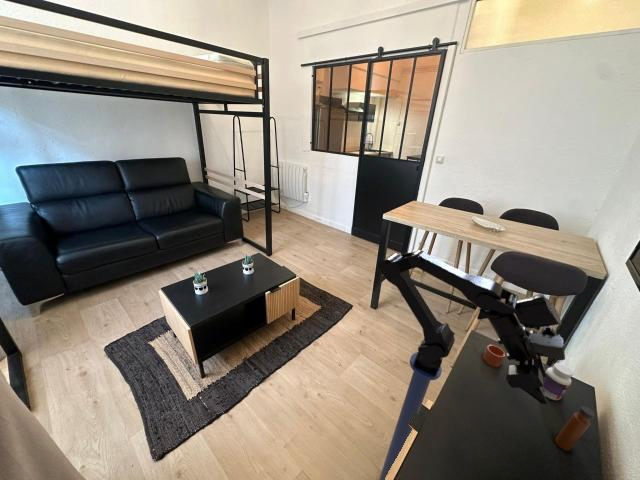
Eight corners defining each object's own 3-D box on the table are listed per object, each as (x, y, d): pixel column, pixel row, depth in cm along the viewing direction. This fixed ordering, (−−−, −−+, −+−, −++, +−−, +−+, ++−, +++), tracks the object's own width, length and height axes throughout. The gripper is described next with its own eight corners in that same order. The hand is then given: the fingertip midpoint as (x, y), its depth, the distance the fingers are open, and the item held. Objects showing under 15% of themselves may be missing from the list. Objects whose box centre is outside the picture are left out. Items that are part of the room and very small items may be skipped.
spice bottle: (556, 446, 61) (582, 412, 56) (553, 435, 63) (578, 402, 58) (571, 453, 60) (599, 420, 55) (568, 442, 62) (594, 409, 57)
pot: (482, 362, 83) (487, 352, 81) (482, 352, 87) (487, 342, 85) (500, 369, 81) (505, 359, 79) (499, 358, 85) (504, 349, 83)
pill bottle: (561, 404, 71) (577, 381, 67) (537, 393, 74) (552, 369, 70) (559, 391, 75) (574, 367, 71) (536, 380, 78) (550, 357, 74)
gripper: (550, 348, 49) (596, 423, 48) (548, 305, 63) (584, 362, 62) (490, 353, 57) (528, 418, 56) (499, 314, 71) (530, 365, 69)
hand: (544, 389), depth 60 cm, fingers open, 9 cm apart
